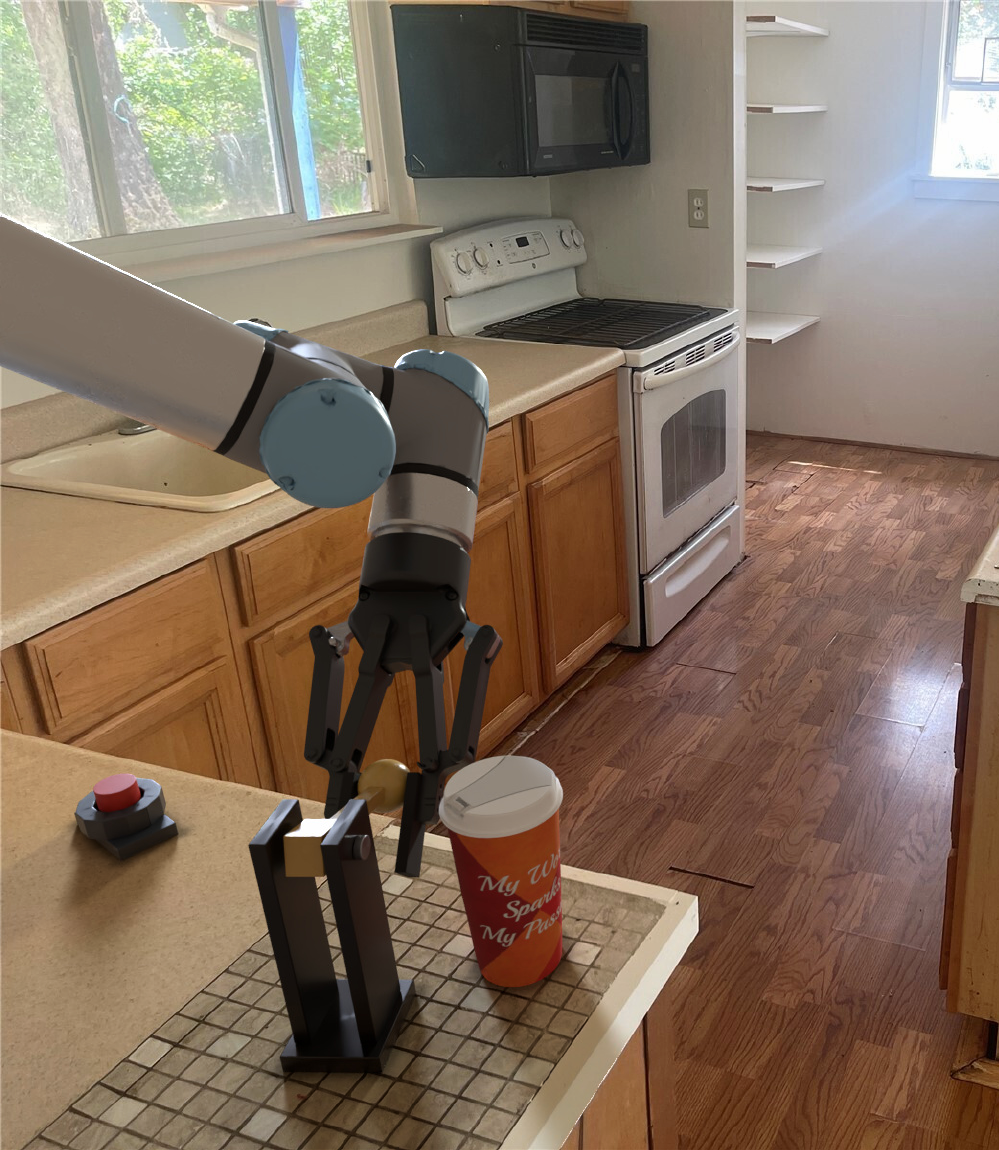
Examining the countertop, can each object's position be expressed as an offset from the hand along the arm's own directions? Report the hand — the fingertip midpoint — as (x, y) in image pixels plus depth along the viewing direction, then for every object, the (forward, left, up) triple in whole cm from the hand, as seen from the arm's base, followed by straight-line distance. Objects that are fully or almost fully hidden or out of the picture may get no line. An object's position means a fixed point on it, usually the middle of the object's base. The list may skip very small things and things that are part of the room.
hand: (374, 874), depth 71 cm
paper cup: (+7, +6, -7) cm, 12 cm away
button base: (-29, -7, -7) cm, 31 cm away
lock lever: (+1, -1, +4) cm, 4 cm away
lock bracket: (+4, -5, -7) cm, 10 cm away
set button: (-29, -7, -4) cm, 30 cm away
